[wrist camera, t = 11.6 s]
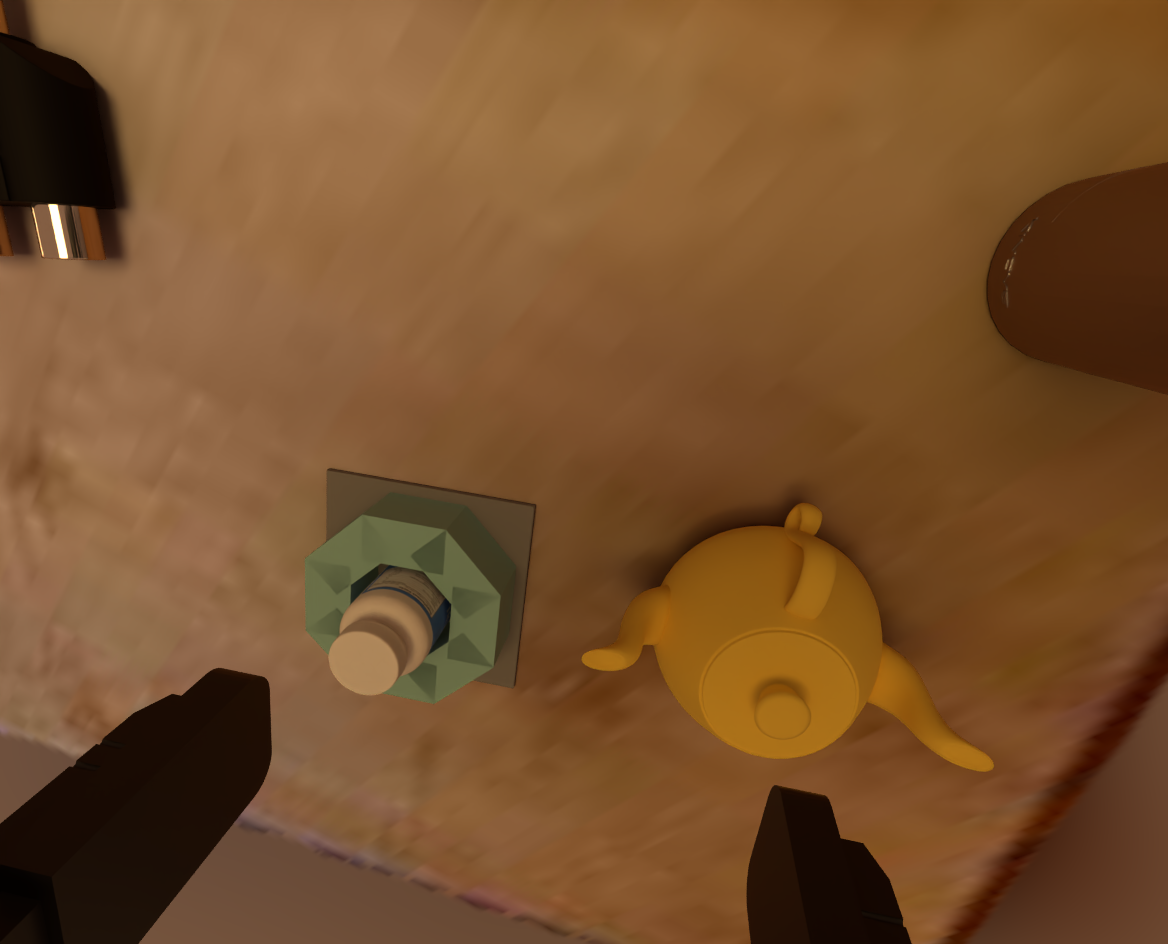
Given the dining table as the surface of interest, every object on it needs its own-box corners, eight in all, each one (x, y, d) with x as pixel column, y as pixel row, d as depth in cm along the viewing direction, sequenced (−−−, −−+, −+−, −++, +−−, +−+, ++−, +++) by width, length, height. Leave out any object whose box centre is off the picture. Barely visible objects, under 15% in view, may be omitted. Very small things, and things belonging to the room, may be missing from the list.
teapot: (963, 522, 38) (1077, 625, 27) (873, 721, 43) (939, 875, 32) (634, 442, 39) (618, 510, 28) (583, 644, 44) (554, 767, 33)
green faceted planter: (521, 515, 41) (506, 540, 38) (504, 677, 45) (488, 715, 42) (337, 482, 42) (304, 504, 39) (336, 643, 46) (306, 677, 43)
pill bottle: (433, 632, 45) (371, 725, 36) (373, 582, 44) (295, 664, 35) (481, 582, 43) (429, 667, 34) (419, 530, 43) (350, 602, 33)
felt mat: (535, 504, 41) (534, 506, 41) (514, 684, 46) (513, 688, 46) (329, 468, 43) (326, 470, 42) (329, 647, 47) (326, 650, 47)
